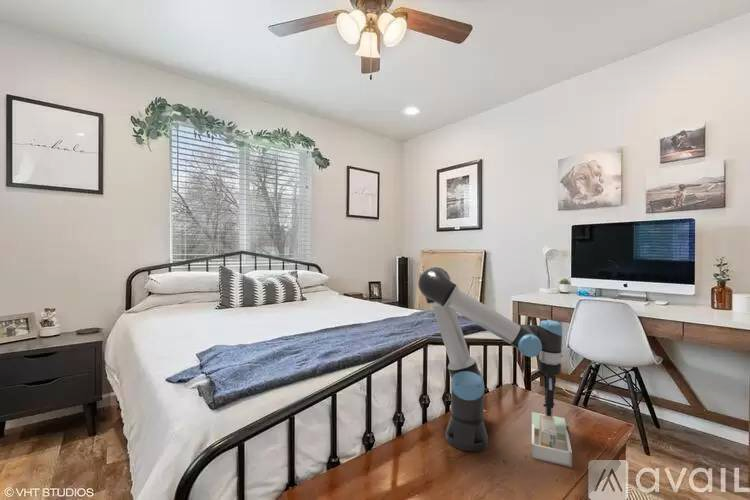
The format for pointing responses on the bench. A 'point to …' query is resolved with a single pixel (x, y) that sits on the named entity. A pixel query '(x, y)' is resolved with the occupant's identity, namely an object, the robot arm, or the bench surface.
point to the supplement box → (547, 432)
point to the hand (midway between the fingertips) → (548, 422)
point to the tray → (552, 450)
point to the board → (559, 425)
